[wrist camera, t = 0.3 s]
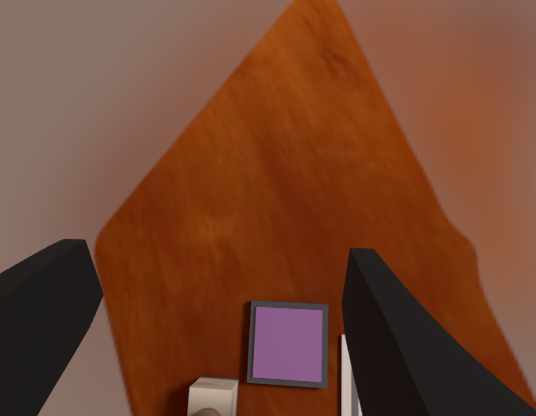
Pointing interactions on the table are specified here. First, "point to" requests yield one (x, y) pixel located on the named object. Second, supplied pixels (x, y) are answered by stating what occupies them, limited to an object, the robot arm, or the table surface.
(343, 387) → the stamp board
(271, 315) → the ink pad
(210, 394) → the stamp
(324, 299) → the table surface
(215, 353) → the table surface
